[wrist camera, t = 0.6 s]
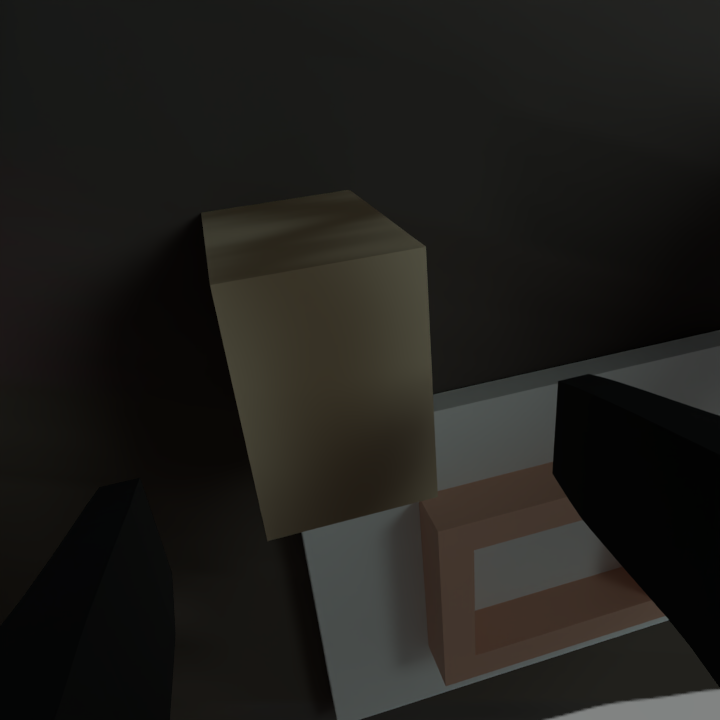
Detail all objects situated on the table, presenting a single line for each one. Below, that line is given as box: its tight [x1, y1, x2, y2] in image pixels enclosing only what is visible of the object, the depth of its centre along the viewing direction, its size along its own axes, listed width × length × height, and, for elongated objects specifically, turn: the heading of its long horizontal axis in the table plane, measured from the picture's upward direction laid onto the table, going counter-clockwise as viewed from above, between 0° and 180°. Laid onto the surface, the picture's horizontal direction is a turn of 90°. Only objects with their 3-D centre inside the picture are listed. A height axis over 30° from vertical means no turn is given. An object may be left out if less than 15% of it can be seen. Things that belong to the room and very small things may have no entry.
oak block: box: [201, 190, 438, 541], centre depth 15 cm, size 4×6×6 cm, turn 6°
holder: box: [301, 330, 720, 720], centre depth 23 cm, size 18×14×3 cm
